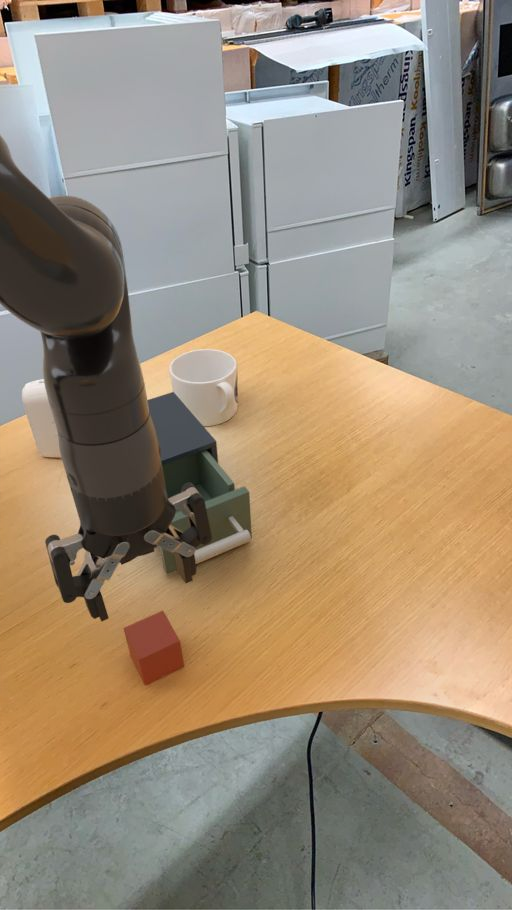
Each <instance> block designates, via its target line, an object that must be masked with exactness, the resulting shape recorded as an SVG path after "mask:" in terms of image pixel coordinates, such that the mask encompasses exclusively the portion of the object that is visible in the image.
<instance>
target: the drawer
mask: <svg viewBox="0 0 512 910" xmlns="http://www.w3.org/2000/svg"><path fill="white" fill-rule="evenodd" d="M162 467H163V473H164V479H165V485H166V490H167V496H168V498H171V497H173V496H175V495H177V494H180V493H182V492H181V488H182V486H183V485H184V484H185V483H188V482H190V483H192V484H193V485H194V487H195V488H196V489H197V491H198V492H199V493H200V495H201V496H202V497H203V499H204V500H205V505H206V510H207V515H208V520H209V525H210V529H211V534H212V540H211V541H210V542H209V543H208V544H206V545H203V544H200V545H199V546H197V547H196V549H195V553H194V555H195V562H196V565H197V564H199V563H202V562H204V561H207V560H209V559H212V558H214V557H216V556H218V555H221V554H223V553H225V552H228V551H230V550H233V549H235V548H237V547H240V546H242V545H244V544H247V543H249V542H251V541H252V539H253V536H252V534H253V533H252V516H251V500H250V491H249V489H248V488H247V486H245V485H244V486H242V487H241V486H240V487H239V488H236V489H235V482H234V480H232V479H231V477H230V476H229V475H228V474H227V473H226V471H224V469H223V468H222V466H220V464H219V462H218V463H217V462H216V461H215V459H214V458H213V457H212V456H211V455H210V453H209V452H208V451H207V450H204V451H201V452H198V453H195V454H193V455H190V456H187V457H184V458H181V459H179V460H176V461H173V462H170V463H167V464H165V465H162ZM171 525H172V526H174V527H176V528H178V529H179V530H181V531H183V532H185V531H186V530H187V529H189V528H190V526H189V522H188V517H187V515H184V514H183V513H182V512H181V511H180V510H177V511H175V516H174V518H173V520H172V522H171ZM156 548H158V550H159V553H160V558H161V563H162V569H163V571H164V572H165V574H166V575H170V574H173V573H175V572H178V570H177V565H176V560H175V554H174V553H172V552H170V551H168V550H166V549H164V548H161V547H159V546H157V547H156Z"/></svg>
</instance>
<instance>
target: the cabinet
mask: <svg viewBox="0 0 512 910" xmlns="http://www.w3.org/2000/svg"><path fill="white" fill-rule="evenodd" d="M147 400H148V406H149V411H150V415H151V418H152V421H153V424H154V427H155V430H156V434H157V438H158V442H159V444H160V448H161V461H162V465H165V464H167V463H170V462H173V461H176V460H179V459H181V458H184V457H187V456H190V455H193V454H195V453H198V452H201V451H204V450H207V451H208V452H209V453H210V455H211V456H212V457H213V458H214V459H215V461H216V462H217V463H218V464H219V456H218V454H219V453H218V444H217V440H216V439H215V438H214V437H213V436H212V435H211V433H210V432H209V430H208V429H206V427H205V426H203V425H202V424H201V423H200V422H199V421H198V420H197V418H196V417H195V416H194V415H193V414H192V413H191V411H190V410H189V409H188V408H187V407H186V406H185V405H184V403H183V402H182V401H181V400H180V399H179V398H178V396H177V395H176V394H175V393H174V392H173V391H172V392H168V393H165V394H162V395H159V396H156V397H152V398H150V399H149V398H148V399H147Z"/></svg>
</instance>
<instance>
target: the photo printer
mask: <svg viewBox="0 0 512 910" xmlns="http://www.w3.org/2000/svg"><path fill="white" fill-rule="evenodd" d="M21 400H22V405H23V408H24V412H25V415H26V418H27V420H28V421H27V422H28V423H29V424H28V425H29V427H30V430H31V434H32V437H33V439H34V442H35V445H36V449H37V451H38V454H39V455H40V456H41V457H44V458H60V459H62V458H61V453H60V448H59V439H58V432H57V429H56V425H55V422H54V418H53V415H52V411H51V408H50V405H49V401H48V397H47V393H46V389H45V384H44V378H41V379H36V380H32V381H29V382H27V383H25V384H24V386H23V388H22V391H21Z"/></svg>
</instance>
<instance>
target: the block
mask: <svg viewBox="0 0 512 910" xmlns="http://www.w3.org/2000/svg"><path fill="white" fill-rule="evenodd" d="M123 633H124V636H125V640H126V644H127V648H128V651H129V655H130V657H131V659H132V662H133V663H134V665H135V667H136V669H137V672H138V674H139V676H140V678H141V681H142V683H143V684H144V686H147V685H149V684H151V683H153V682H155V681H157V680H159V679H161V678H163V677H165V676H167V675H169V674H171V673H173V672H175V671H178V670H180V669H182V668H183V667H185V661H184V655H183V651H182V650H183V649H182V645H181V640H180V638H179V636H178V635H177V633H176V631H175V629H174V628H173V626H172V624H171V622H170V620H169V619H168V617H167V615H166V613H165V611H164V610H161V611H159V612H155V613H154V614H152V615H149V616H147V617H144V618H143V619H140V620H138V621H136V622H134V623H131V624H130V625H127V626H124V627H123Z"/></svg>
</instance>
